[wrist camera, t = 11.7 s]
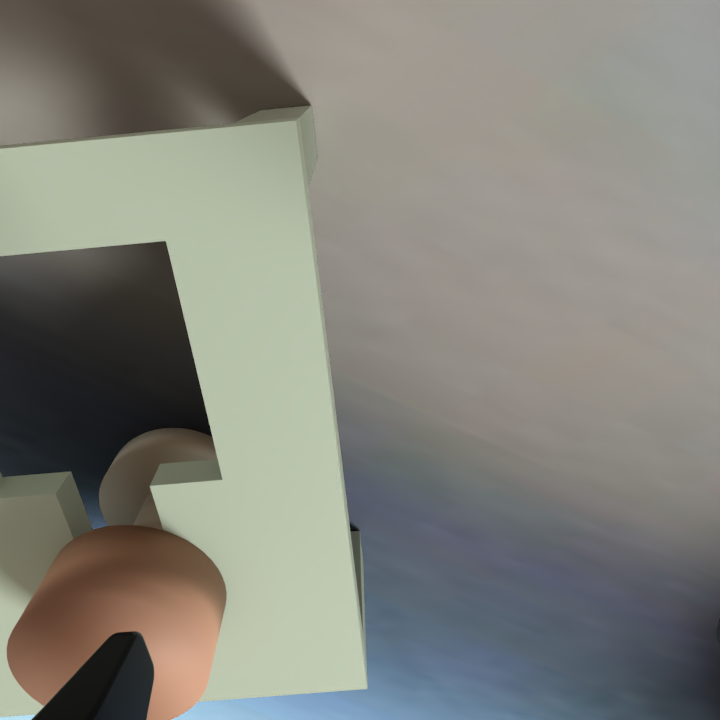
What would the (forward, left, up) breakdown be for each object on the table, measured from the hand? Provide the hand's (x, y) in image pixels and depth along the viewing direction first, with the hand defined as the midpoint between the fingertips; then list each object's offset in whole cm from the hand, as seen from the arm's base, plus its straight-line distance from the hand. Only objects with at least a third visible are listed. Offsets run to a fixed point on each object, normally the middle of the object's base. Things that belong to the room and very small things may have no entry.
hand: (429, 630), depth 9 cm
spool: (+8, +6, -12) cm, 15 cm away
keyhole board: (+8, +2, -13) cm, 15 cm away
